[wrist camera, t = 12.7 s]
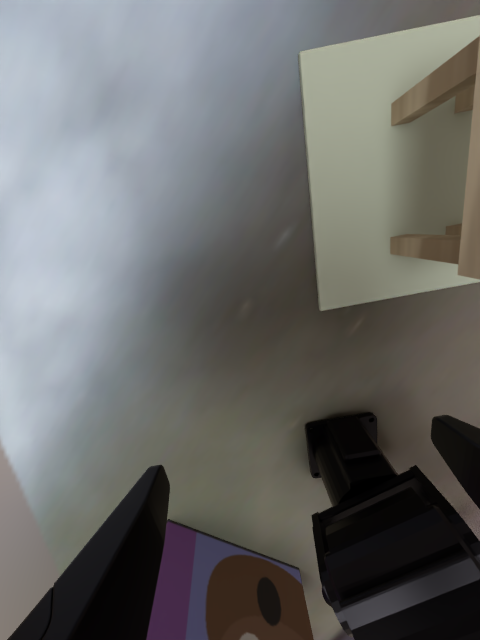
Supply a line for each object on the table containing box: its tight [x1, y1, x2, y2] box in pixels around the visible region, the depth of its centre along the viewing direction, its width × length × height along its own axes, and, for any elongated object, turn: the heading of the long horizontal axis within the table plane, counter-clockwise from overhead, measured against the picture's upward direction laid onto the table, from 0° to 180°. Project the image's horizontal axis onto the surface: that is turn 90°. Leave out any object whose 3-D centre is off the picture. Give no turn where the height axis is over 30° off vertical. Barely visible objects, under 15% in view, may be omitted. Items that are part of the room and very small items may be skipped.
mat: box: [298, 15, 480, 311], centre depth 18 cm, size 16×16×1 cm
